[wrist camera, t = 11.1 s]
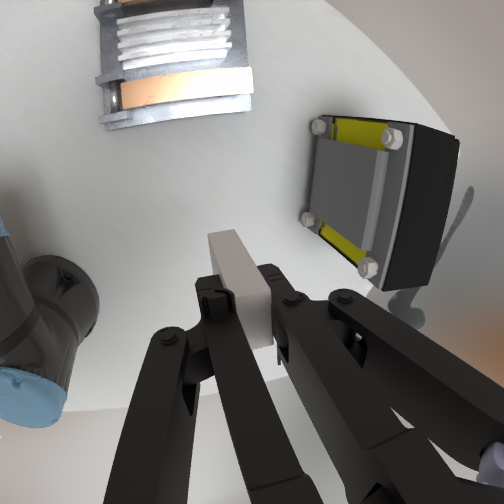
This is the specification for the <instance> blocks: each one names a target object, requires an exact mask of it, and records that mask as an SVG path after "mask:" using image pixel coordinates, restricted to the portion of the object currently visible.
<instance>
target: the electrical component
mask: <svg viewBox="0 0 504 504" xmlns="http://www.w3.org/2000/svg"><path fill="white" fill-rule="evenodd" d="M311 129H312V133H313V134H314V135H317V142H316V152H315V161H314V170H313V178H312V187H311V195H310V203H309V210H308V212H304V213H303V214H302V217H301V222H302V225H303V227H308V228H309V229H310V230H311V231H312V232H314V233H315V234H318V235H319V236H320V237H321V238H322V239H323V240H325V241H326V242H327V243H328V244H329V245H331V246H332V247H333V248H334V249H335V250H336V251H338V252H339V253H340V254H341V255H342V256H343V257H345V258H346V259H347V260H348V261H349V262H350V263H352V264H353V265H354V266H355V267H356V268H357V269H358V273H359V275H360V276H361V277H362V278H363V279H368V280H369V281H370V282H371V283H372V284H373V285H374V286H375V287H377V288H378V289H381V290H382V291H383V292H385V291H392V290H399V289H406V288H413V287H419V286H426V285H428V283H429V280H430V277H431V274H432V271H433V267H434V264H435V261H436V257H437V254H438V250H439V246H440V243H441V239H442V235H443V231H444V227H445V222H446V218H447V214H448V209H449V205H450V200H451V194H452V189H453V184H454V178H455V173H456V166H457V160H458V153H459V145H460V142H459V140H458V139H455V136H453V135H451V134H448V133H445V132H442V131H439V130H436V129H433V128H430V127H427V126H424V125H421V124H417V123H410V122H403V121H394V120H385V119H375V118H363V117H349V116H332V115H322V116H319V119H315V120H314V121H313V122H312V126H311Z"/></svg>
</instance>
